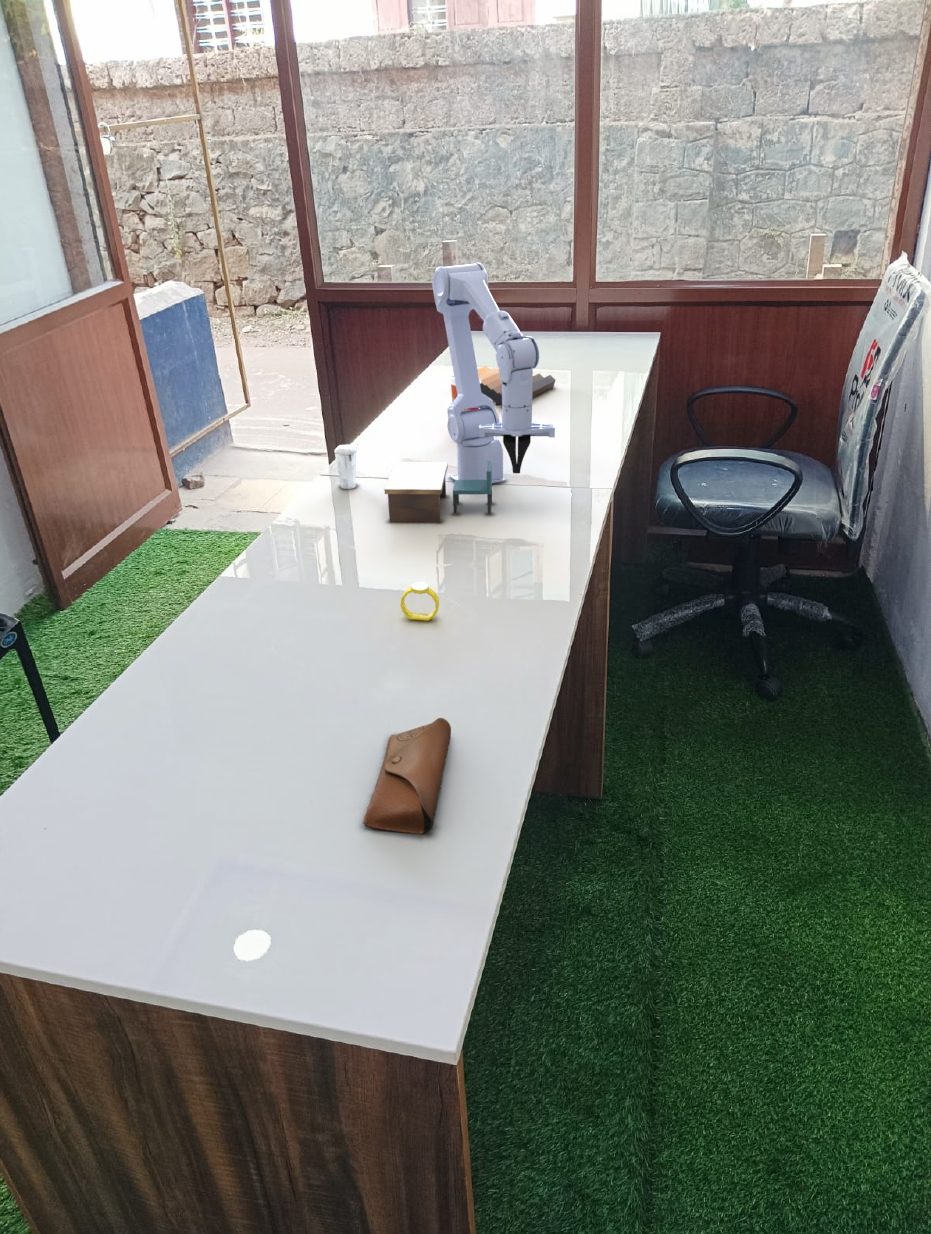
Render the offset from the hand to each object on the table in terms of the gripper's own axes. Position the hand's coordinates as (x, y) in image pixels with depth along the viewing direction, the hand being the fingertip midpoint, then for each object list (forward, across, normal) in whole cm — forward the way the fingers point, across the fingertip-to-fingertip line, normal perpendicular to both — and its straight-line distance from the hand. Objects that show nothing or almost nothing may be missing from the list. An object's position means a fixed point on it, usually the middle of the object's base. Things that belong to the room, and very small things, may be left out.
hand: (516, 471), depth 181 cm
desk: (+8, -20, 0) cm, 21 cm away
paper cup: (+8, -13, +48) cm, 51 cm away
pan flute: (+8, -7, +84) cm, 85 cm away
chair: (+8, -9, 0) cm, 12 cm away
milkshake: (+8, -36, +12) cm, 39 cm away
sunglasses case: (+8, -12, -85) cm, 86 cm away
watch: (+8, -15, -45) cm, 48 cm away
